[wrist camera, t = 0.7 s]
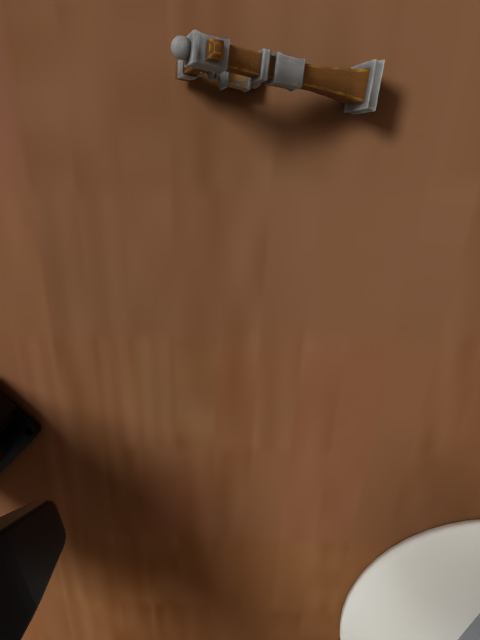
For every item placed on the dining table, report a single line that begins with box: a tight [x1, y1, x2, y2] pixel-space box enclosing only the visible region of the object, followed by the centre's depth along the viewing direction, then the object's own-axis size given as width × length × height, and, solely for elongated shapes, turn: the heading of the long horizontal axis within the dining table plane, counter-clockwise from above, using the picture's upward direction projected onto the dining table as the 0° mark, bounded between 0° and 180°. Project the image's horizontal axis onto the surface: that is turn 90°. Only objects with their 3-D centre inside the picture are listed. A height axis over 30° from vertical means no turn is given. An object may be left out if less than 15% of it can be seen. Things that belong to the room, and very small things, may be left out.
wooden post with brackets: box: [171, 29, 385, 115], centre depth 17 cm, size 2×8×4 cm, turn 84°
